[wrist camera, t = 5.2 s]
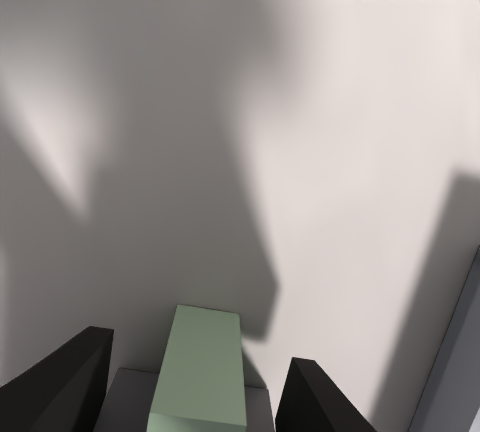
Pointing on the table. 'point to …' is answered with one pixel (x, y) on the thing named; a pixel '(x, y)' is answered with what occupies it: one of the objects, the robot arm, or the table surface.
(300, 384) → the robot arm
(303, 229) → the table surface
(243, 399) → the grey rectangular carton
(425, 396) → the tray
